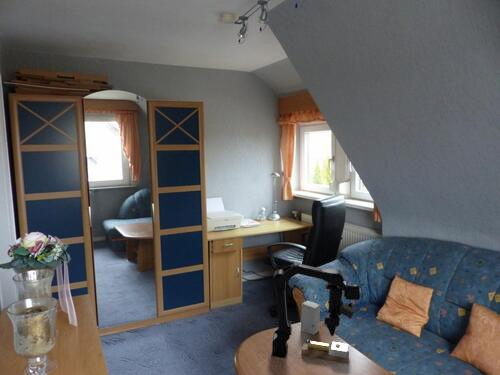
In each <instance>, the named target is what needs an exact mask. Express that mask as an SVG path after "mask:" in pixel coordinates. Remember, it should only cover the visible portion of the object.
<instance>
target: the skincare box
mask: <svg viewBox="0 0 500 375" xmlns="http://www.w3.org/2000/svg"><path fill="white" fill-rule="evenodd" d="M321 306H322V305H321V304H319V303H316V302H314V301H312V300H311V301H310V300H306V301H304V302H302V303H301V316H300V318H301V319H300V331H303V332H304V333H308V334H310V335H313V336H314V335H315V334H316V333H318V332H319V331H320V318H321Z"/></svg>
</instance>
